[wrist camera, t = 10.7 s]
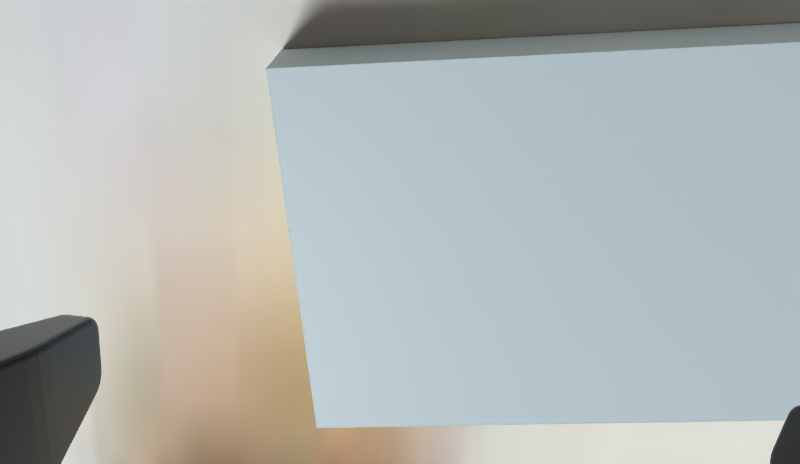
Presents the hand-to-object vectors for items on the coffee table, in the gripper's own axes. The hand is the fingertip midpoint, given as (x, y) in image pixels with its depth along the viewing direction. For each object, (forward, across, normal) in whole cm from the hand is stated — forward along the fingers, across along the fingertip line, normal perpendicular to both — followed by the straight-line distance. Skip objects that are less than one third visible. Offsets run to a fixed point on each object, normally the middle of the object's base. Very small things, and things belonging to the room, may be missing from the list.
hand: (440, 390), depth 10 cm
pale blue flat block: (+12, +4, -3) cm, 13 cm away
